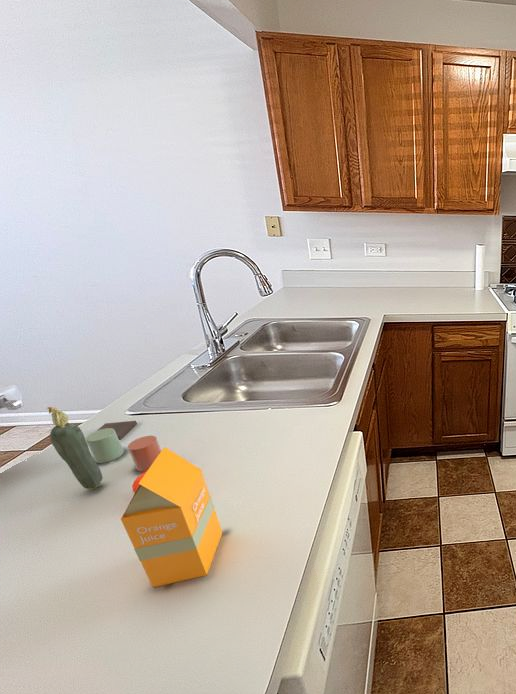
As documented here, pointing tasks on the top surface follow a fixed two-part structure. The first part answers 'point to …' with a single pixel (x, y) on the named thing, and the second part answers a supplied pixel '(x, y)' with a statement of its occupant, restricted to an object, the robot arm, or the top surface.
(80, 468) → the vegetable
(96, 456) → the mint green cylinder
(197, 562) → the orange juice
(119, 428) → the coaster
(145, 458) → the rust red cylinder
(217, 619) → the top surface
